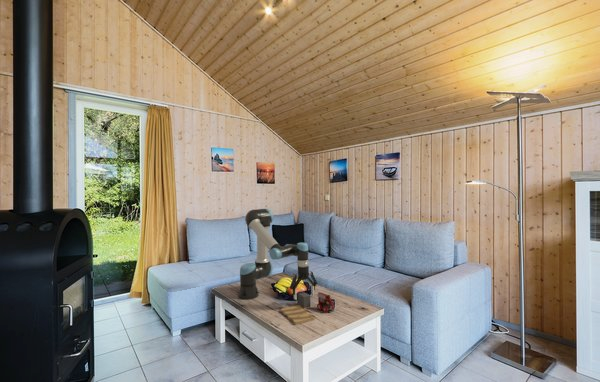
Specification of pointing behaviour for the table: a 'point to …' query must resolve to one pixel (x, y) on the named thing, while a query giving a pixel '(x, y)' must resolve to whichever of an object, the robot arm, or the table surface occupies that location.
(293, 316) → the board
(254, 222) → the robot arm
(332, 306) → the toy fire truck
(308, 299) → the block
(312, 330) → the table surface
